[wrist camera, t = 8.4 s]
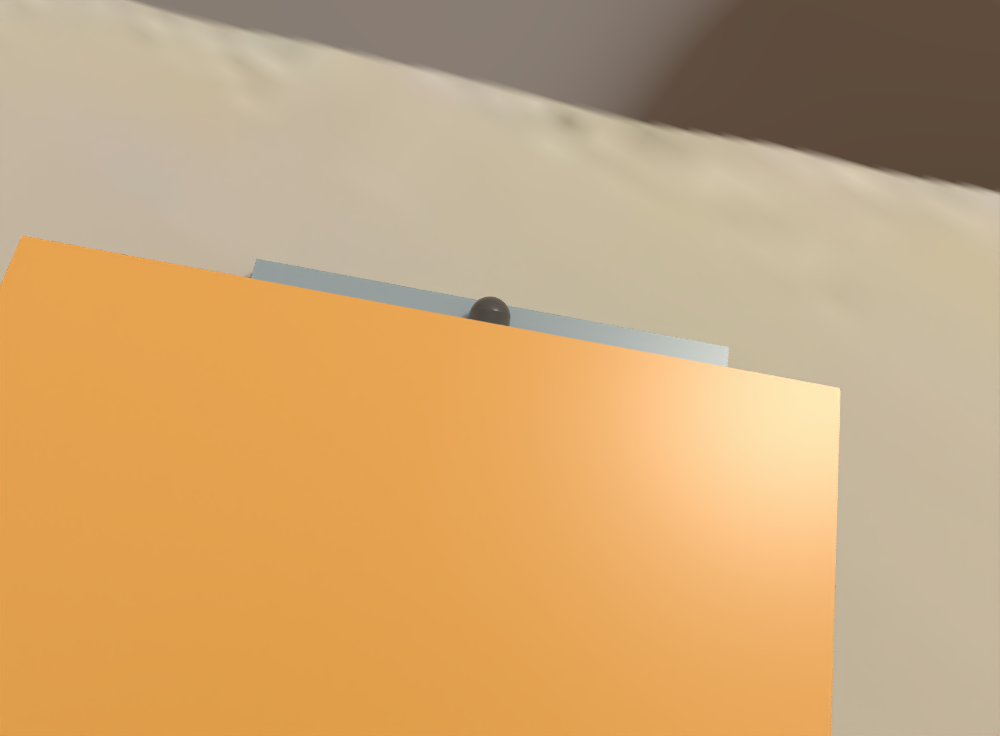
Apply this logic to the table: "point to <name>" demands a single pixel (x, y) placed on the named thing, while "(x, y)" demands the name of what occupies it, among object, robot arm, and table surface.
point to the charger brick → (393, 520)
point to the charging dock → (490, 312)
